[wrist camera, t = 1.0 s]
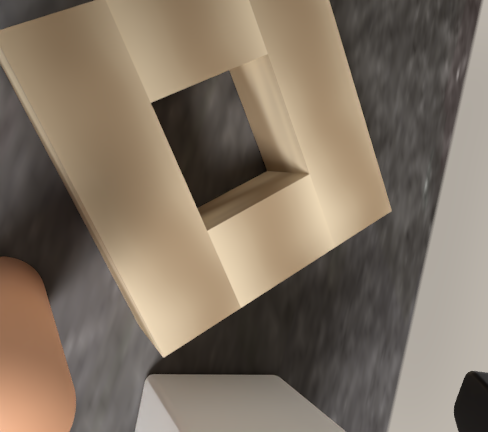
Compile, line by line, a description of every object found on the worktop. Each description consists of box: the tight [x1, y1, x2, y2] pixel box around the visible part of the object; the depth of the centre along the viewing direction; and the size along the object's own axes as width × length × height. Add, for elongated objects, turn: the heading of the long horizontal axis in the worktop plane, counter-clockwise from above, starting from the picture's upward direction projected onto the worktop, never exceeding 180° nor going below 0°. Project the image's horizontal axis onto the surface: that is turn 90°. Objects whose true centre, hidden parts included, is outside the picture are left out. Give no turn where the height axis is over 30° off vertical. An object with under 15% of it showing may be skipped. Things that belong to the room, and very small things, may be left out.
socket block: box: [0, 0, 392, 358], centre depth 19 cm, size 12×12×4 cm
